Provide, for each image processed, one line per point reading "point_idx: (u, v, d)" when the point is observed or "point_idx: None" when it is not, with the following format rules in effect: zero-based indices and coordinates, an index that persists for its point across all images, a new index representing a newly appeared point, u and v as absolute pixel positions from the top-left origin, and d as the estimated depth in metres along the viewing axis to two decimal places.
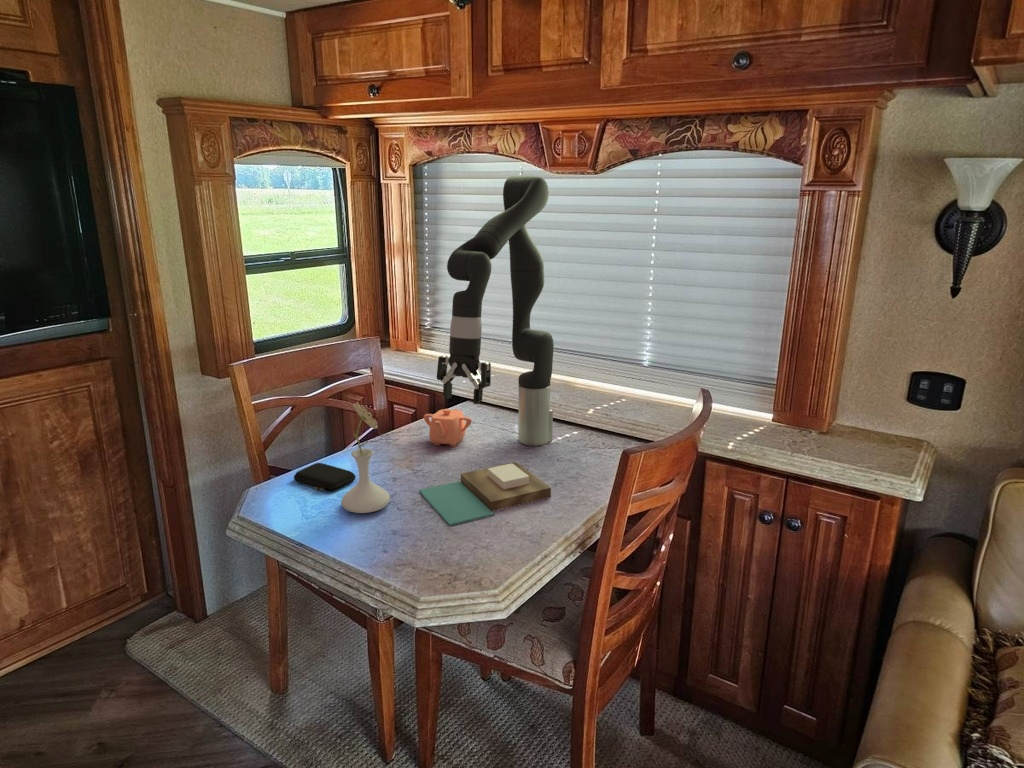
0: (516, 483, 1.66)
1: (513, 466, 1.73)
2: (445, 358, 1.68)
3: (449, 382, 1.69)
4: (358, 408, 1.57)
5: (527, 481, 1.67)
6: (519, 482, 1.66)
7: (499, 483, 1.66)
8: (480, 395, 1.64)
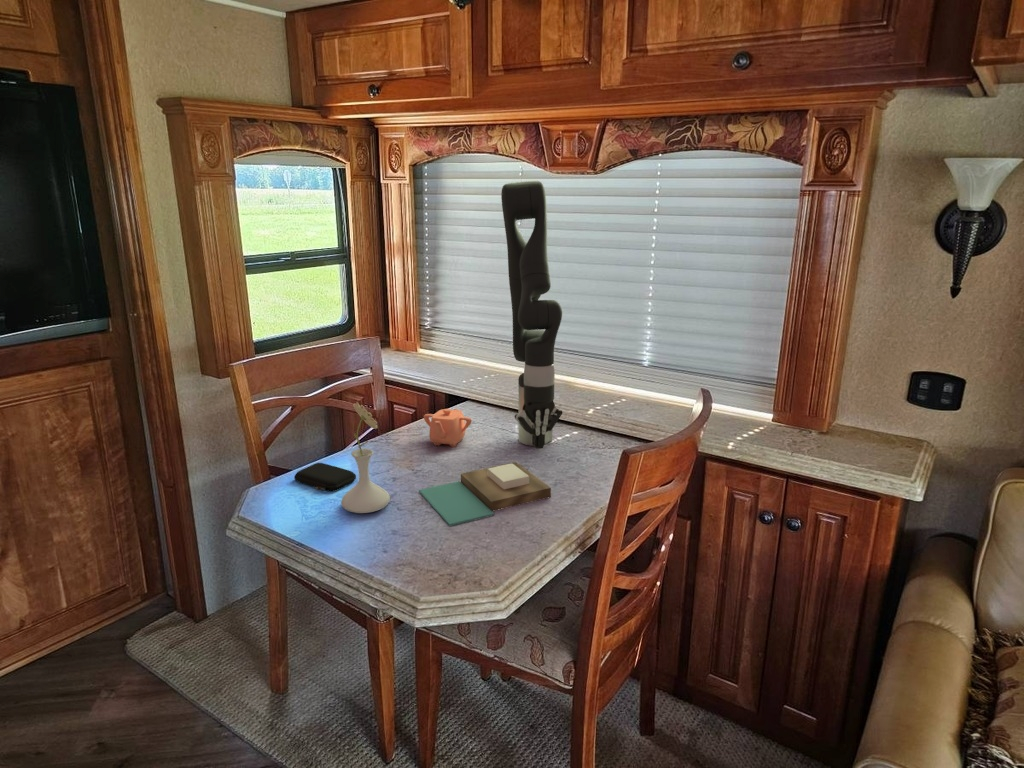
0: (516, 483, 1.66)
1: (513, 466, 1.73)
2: (522, 415, 1.67)
3: None
4: (358, 408, 1.57)
5: (527, 481, 1.67)
6: (519, 482, 1.66)
7: (499, 483, 1.66)
8: None
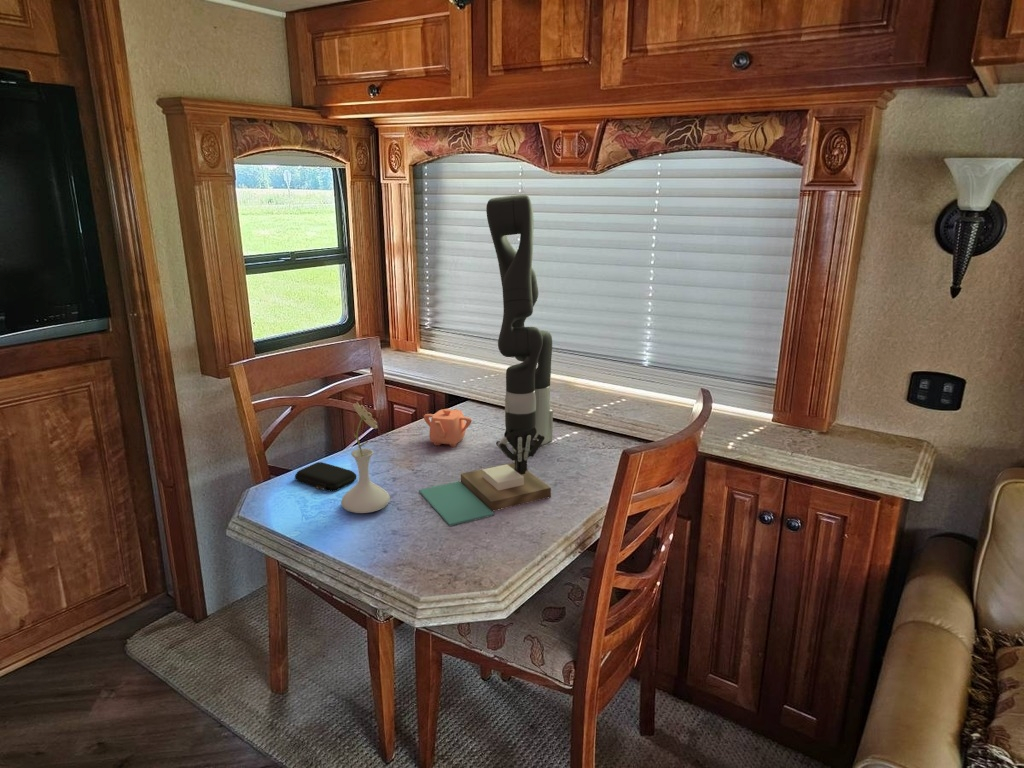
0: (511, 484, 1.65)
1: (508, 467, 1.72)
2: (503, 441, 1.66)
3: None
4: (358, 408, 1.57)
5: (522, 482, 1.67)
6: (513, 483, 1.66)
7: (494, 484, 1.66)
8: None
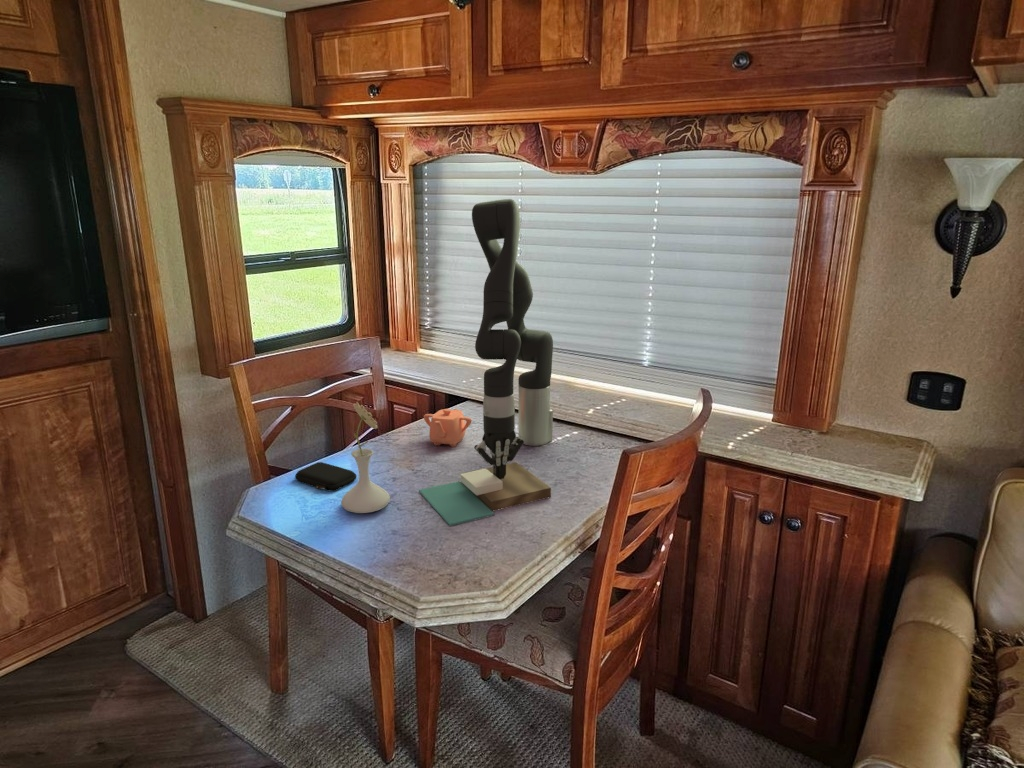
0: (489, 489, 1.63)
1: (487, 471, 1.70)
2: (481, 446, 1.63)
3: None
4: (358, 408, 1.57)
5: (500, 487, 1.64)
6: (492, 488, 1.63)
7: (472, 489, 1.63)
8: None
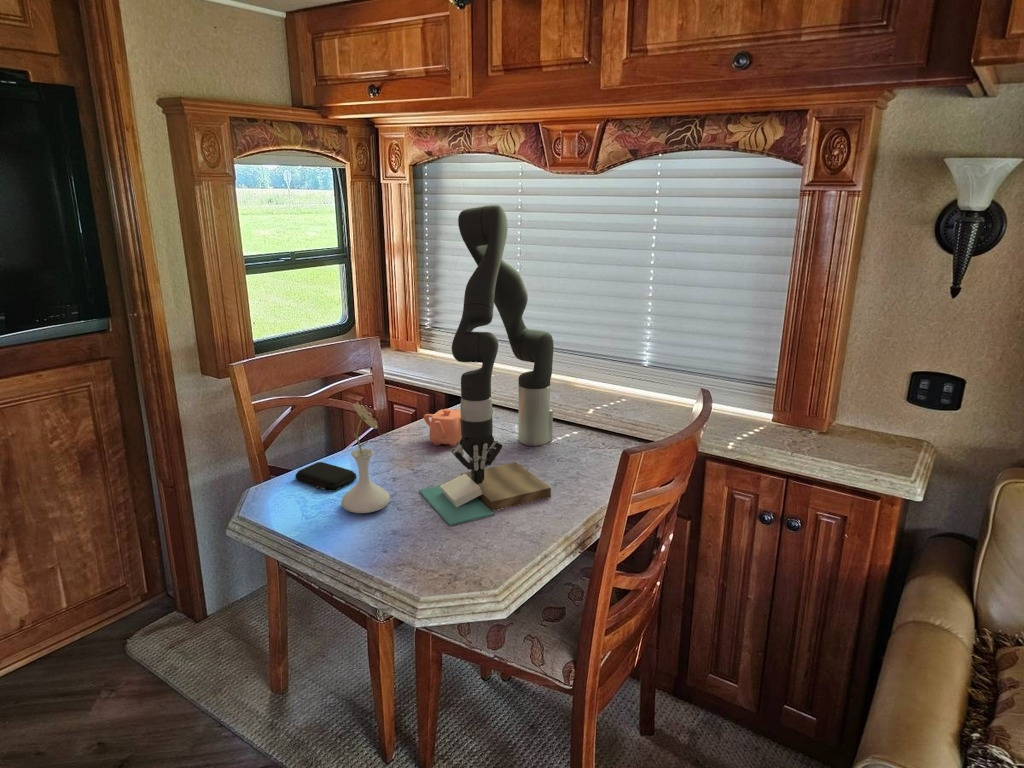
0: (468, 498, 1.61)
1: (465, 477, 1.67)
2: (459, 450, 1.60)
3: None
4: (358, 408, 1.57)
5: (479, 492, 1.62)
6: (471, 496, 1.61)
7: (451, 501, 1.61)
8: None
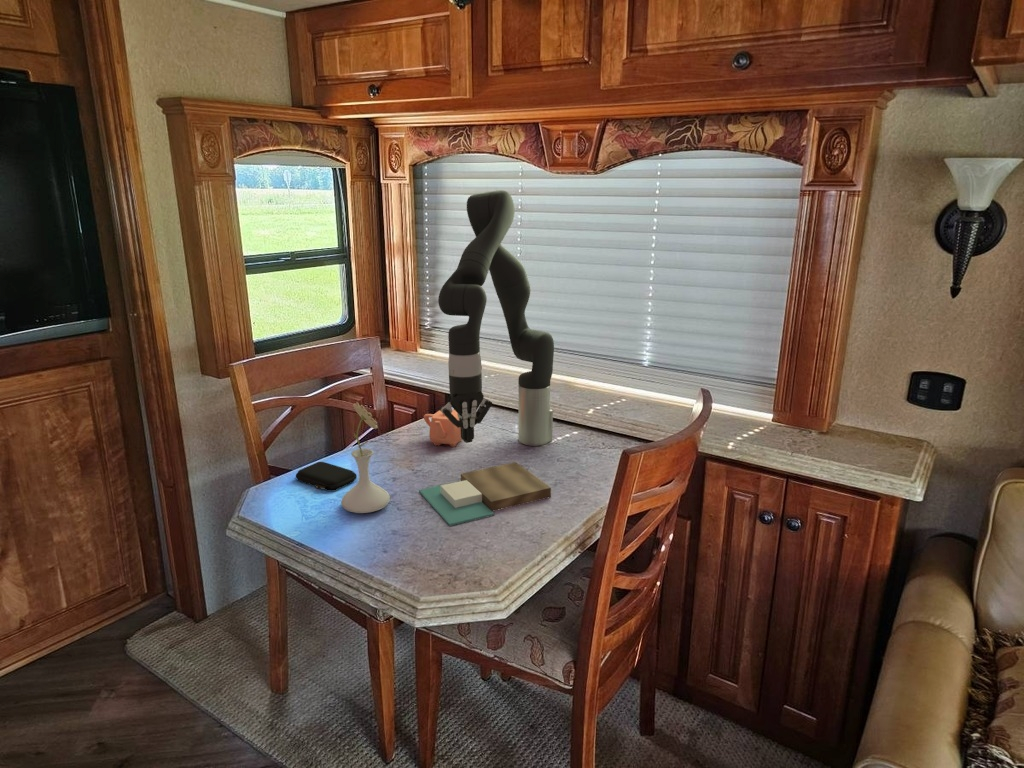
0: (468, 501, 1.61)
1: (467, 483, 1.68)
2: (447, 407, 1.56)
3: None
4: (358, 408, 1.57)
5: (480, 499, 1.62)
6: (471, 500, 1.61)
7: (451, 501, 1.61)
8: None
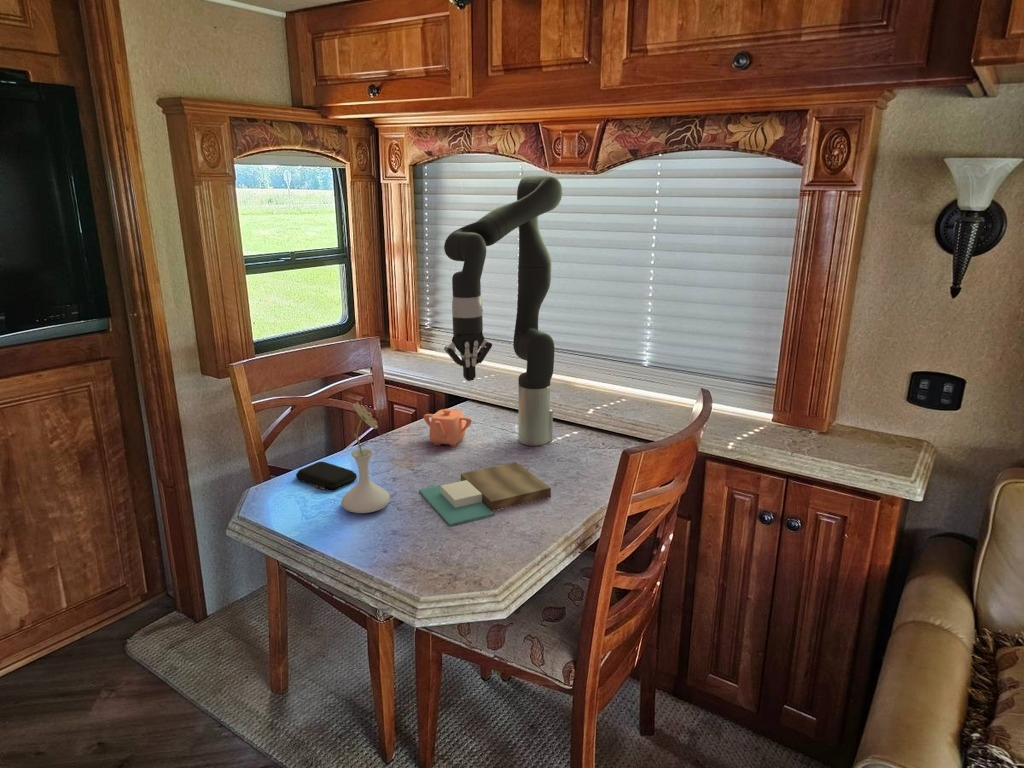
0: (468, 501, 1.61)
1: (467, 483, 1.68)
2: (451, 346, 1.70)
3: None
4: (358, 408, 1.57)
5: (480, 499, 1.62)
6: (471, 500, 1.61)
7: (451, 501, 1.61)
8: None
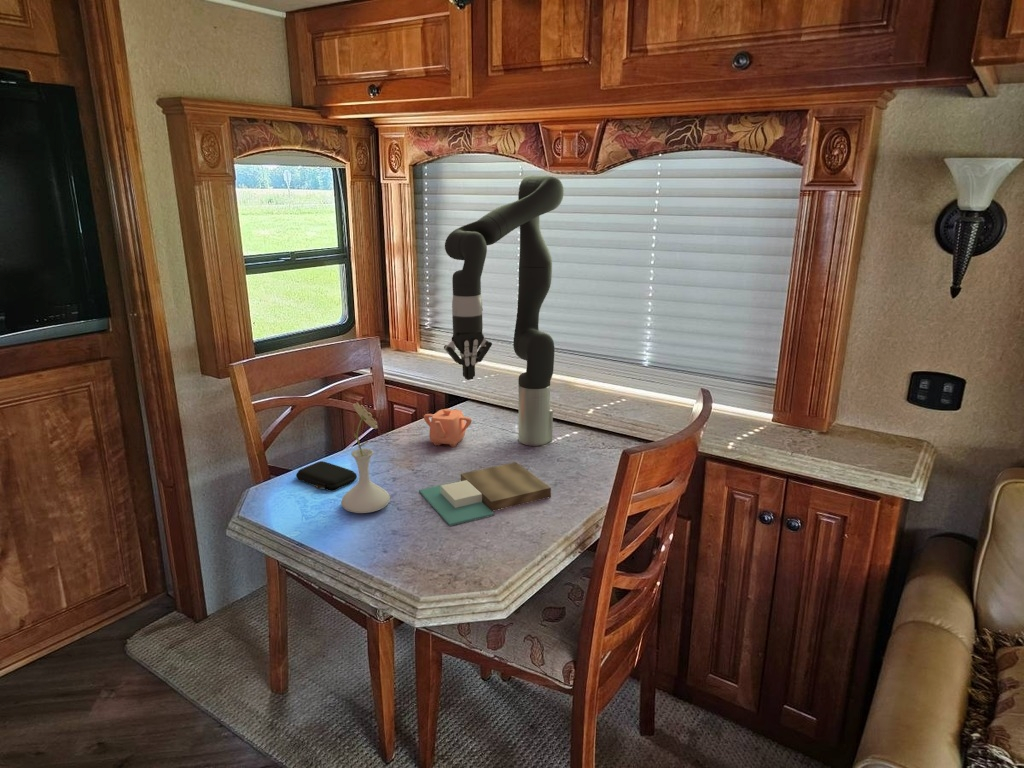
0: (468, 501, 1.61)
1: (467, 483, 1.68)
2: (450, 345, 1.71)
3: None
4: (358, 408, 1.57)
5: (480, 499, 1.62)
6: (471, 500, 1.61)
7: (451, 501, 1.61)
8: None
